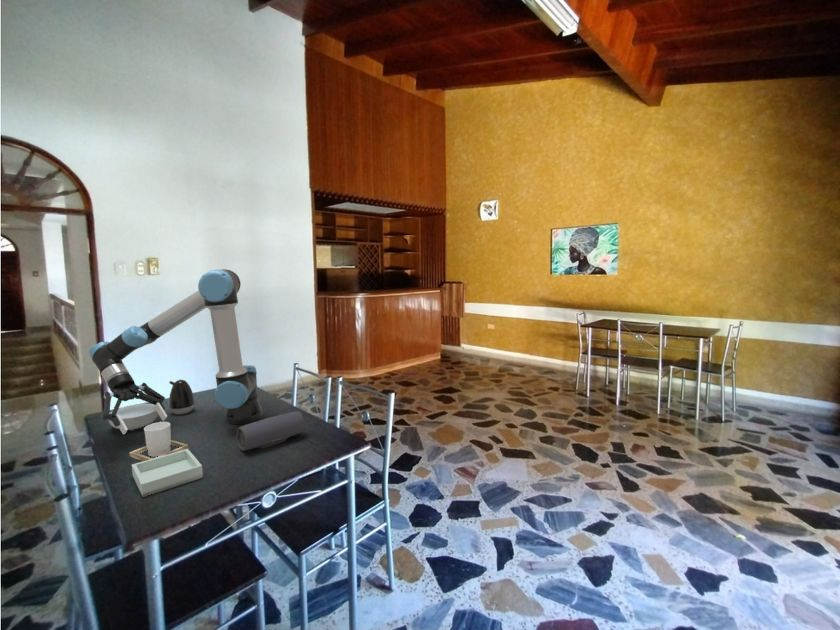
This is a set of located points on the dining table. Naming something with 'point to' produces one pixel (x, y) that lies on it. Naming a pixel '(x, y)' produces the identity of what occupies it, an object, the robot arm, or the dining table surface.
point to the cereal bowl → (136, 415)
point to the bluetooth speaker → (270, 431)
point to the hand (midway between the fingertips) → (146, 425)
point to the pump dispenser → (181, 397)
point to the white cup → (158, 438)
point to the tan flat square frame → (138, 456)
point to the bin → (166, 472)
